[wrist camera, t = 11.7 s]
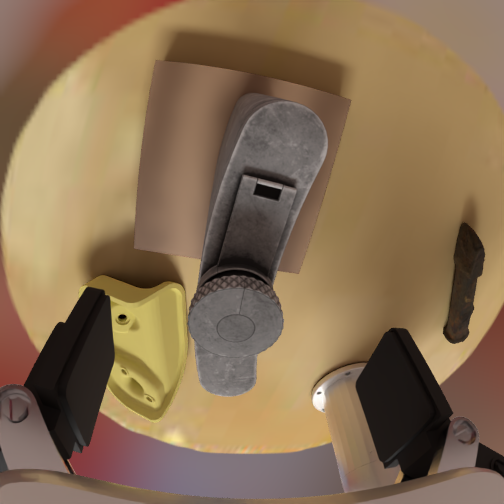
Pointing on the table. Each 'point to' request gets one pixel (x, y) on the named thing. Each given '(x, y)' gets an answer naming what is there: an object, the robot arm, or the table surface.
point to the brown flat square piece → (212, 154)
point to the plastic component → (146, 344)
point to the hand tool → (464, 283)
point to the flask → (250, 235)
